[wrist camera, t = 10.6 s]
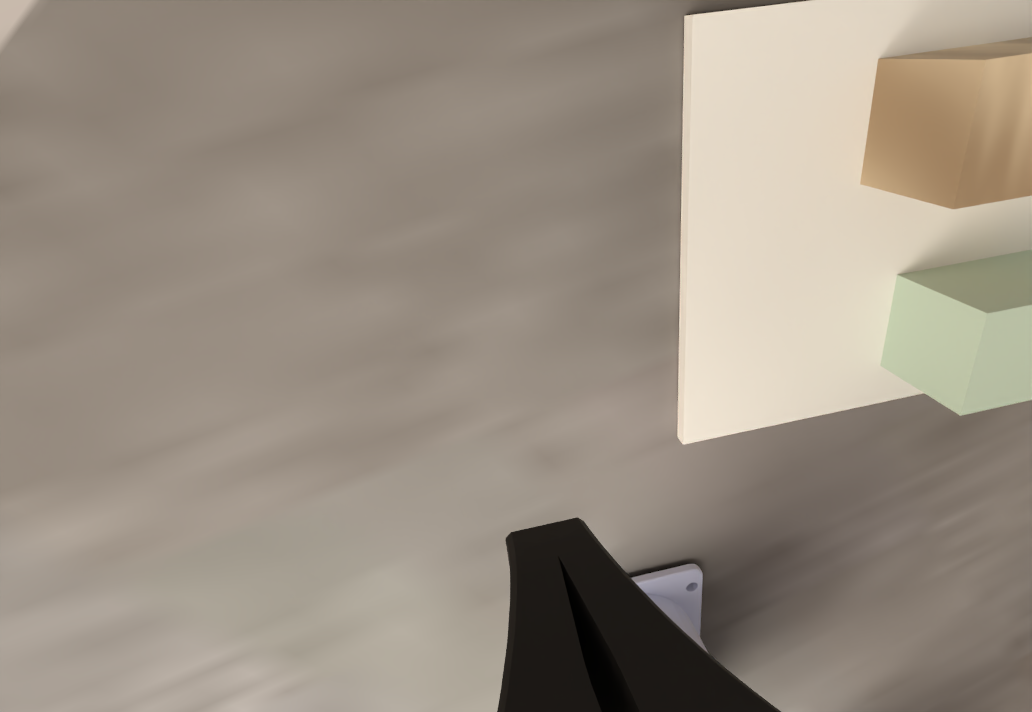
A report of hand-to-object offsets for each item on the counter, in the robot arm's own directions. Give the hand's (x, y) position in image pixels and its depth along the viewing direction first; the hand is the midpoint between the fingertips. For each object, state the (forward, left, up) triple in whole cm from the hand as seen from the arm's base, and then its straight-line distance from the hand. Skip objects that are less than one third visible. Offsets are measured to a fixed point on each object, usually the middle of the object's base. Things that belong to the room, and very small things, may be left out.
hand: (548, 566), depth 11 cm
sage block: (-2, -15, -8) cm, 17 cm away
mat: (+2, -16, -10) cm, 18 cm away
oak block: (+5, -13, -8) cm, 16 cm away
